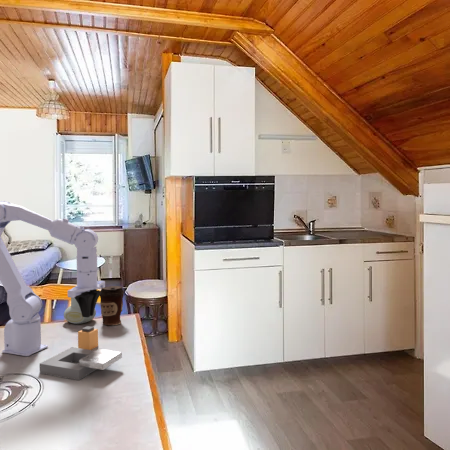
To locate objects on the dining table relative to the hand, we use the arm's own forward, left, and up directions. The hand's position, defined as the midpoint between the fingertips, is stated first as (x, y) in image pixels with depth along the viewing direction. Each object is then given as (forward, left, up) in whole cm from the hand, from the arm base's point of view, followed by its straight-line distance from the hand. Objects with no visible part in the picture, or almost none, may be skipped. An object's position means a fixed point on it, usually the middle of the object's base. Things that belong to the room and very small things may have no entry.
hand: (87, 316), depth 118 cm
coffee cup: (-7, +22, -10) cm, 25 cm away
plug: (0, 0, -10) cm, 10 cm away
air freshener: (-19, +20, -10) cm, 29 cm away
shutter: (+14, -13, -7) cm, 20 cm away
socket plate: (+6, -13, -9) cm, 17 cm away
